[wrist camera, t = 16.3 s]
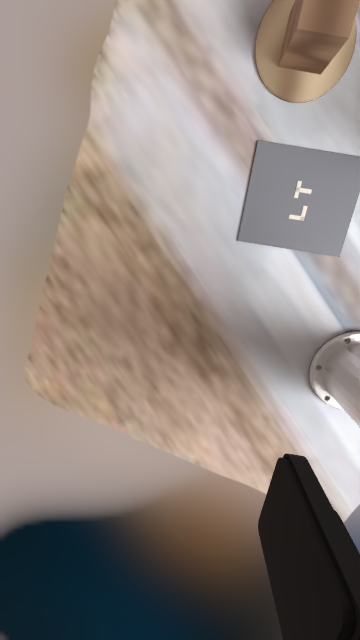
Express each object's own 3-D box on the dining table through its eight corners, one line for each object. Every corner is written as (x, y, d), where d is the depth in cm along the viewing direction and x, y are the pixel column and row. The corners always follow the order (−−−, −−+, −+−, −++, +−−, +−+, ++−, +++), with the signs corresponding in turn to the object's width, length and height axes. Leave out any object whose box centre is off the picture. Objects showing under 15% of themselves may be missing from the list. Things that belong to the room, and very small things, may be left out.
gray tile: (368, 158, 34) (370, 158, 34) (338, 256, 38) (339, 256, 37) (257, 140, 34) (258, 140, 34) (237, 240, 38) (237, 240, 37)
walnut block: (334, 20, 30) (368, -32, 25) (320, 74, 32) (349, 37, 26) (290, 12, 30) (313, -42, 24) (277, 66, 32) (297, 28, 26)
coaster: (368, -9, 30) (370, -12, 29) (336, 109, 33) (338, 108, 33) (268, -25, 30) (269, -29, 29) (245, 95, 33) (246, 93, 32)
